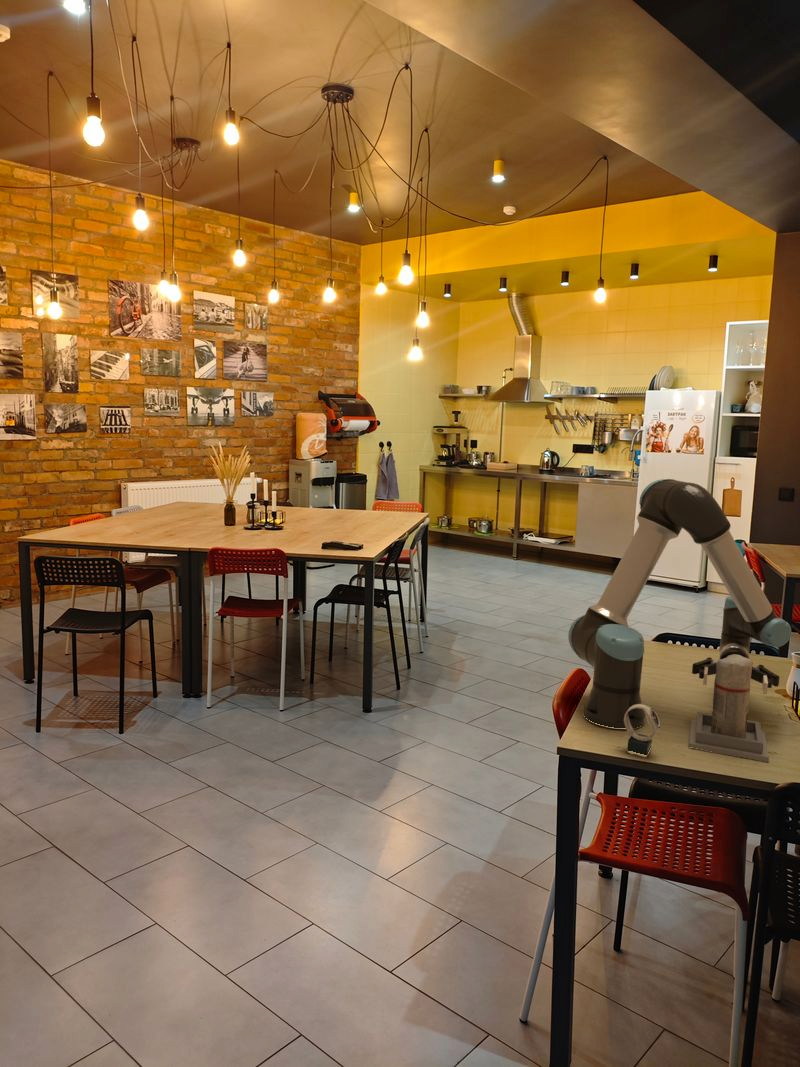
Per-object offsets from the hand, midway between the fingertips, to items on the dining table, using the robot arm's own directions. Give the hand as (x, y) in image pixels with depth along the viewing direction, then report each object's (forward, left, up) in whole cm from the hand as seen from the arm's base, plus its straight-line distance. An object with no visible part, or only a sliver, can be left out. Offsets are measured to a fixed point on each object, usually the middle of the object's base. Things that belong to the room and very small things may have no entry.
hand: (735, 684), depth 191 cm
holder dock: (-1, -5, -13) cm, 14 cm away
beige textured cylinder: (-1, -4, -12) cm, 13 cm away
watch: (-20, -21, -13) cm, 31 cm away
